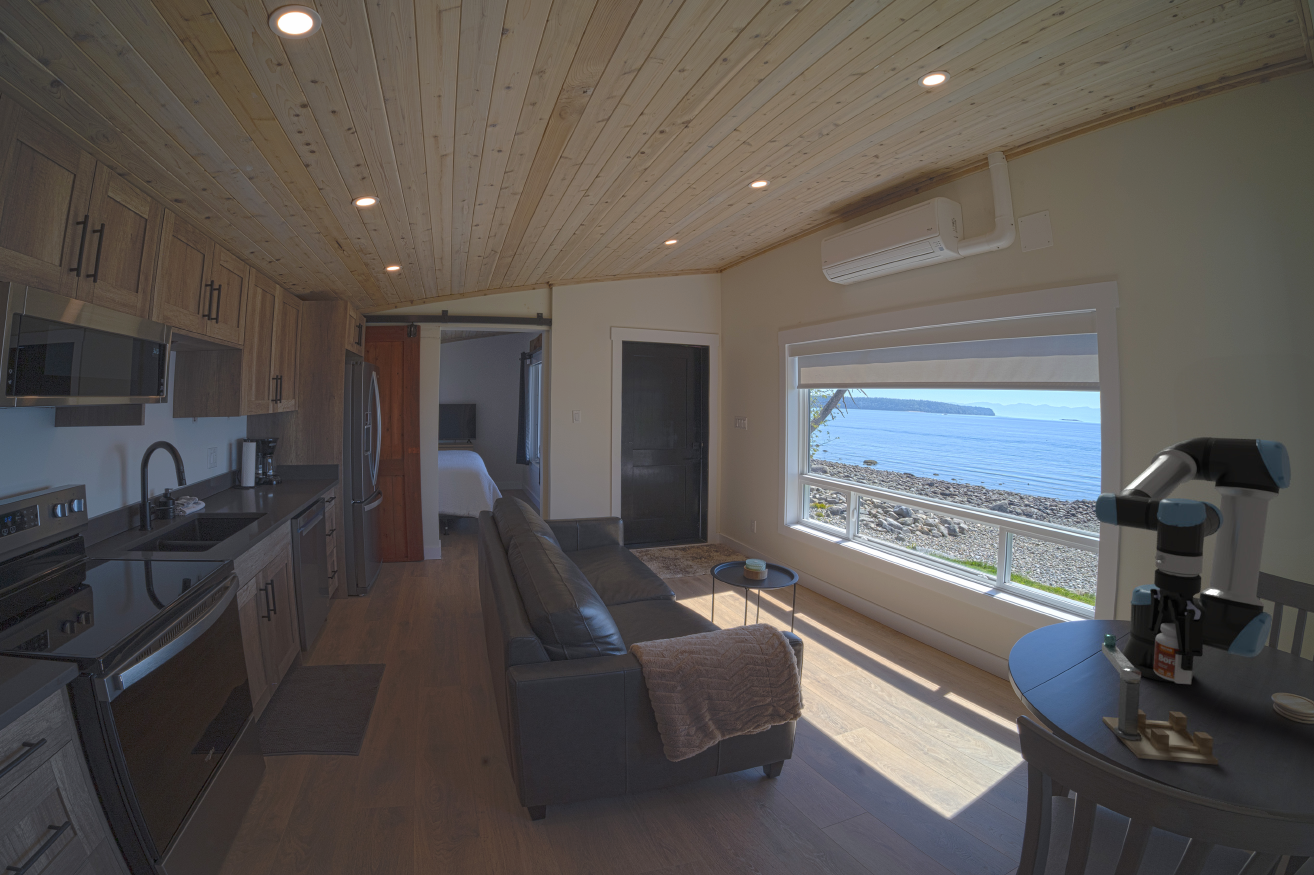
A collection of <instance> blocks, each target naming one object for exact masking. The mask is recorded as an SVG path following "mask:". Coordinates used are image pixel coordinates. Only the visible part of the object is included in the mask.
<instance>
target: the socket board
mask: <svg viewBox="0 0 1314 875" xmlns="http://www.w3.org/2000/svg"><path fill="white" fill-rule="evenodd" d="M1187 721H1188V717H1187V715H1185V714H1183V712H1181V711H1171V710H1169V712H1168V721H1165V720H1164V721H1163V720H1153V719H1152V720H1151V719H1147V714H1146V713H1145V712H1144V710H1142V709H1140V708H1139V711H1138V730H1137V732H1138V733H1140V735H1141V740H1140V741H1129V740H1125V739H1123V738H1121V737H1119V736H1117V738H1118V739H1119V740H1120V741H1121V742H1122V743H1123V744H1124V745H1125V746H1126V747H1127V748H1128V749H1129V750H1130V751H1131V752H1132V753H1133V754H1134V755H1135V756H1136V757H1137V758H1138V759H1144V760H1145V759H1146V760H1158V761H1169V762H1170V761H1171V762H1182V763H1193V764H1205V765H1219V759H1218V758H1216V757H1215V756H1214V755H1213V749H1214V748H1213V747H1214V738H1213V736H1211V735H1210V734H1208V733H1207V732H1204V731H1203V732H1202V731H1193V734H1191V733H1190V732H1188V730H1187V726H1188V725H1187V724H1188V723H1187ZM1102 722H1103V723H1104V724H1105V725H1106V726H1107V728H1109V729H1110V730H1111V731H1112V732H1113V733H1114V728H1115V727H1118V717H1112V716H1111V717H1110V716H1102Z"/></svg>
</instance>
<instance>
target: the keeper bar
mask: <svg viewBox="0 0 1314 875" xmlns="http://www.w3.org/2000/svg"><path fill="white" fill-rule="evenodd" d="M1103 637H1104V638H1103V642H1102V643H1101V652H1102V653H1103V654H1104V656H1105V657H1106V658H1107V660H1108V661H1109V662H1110V663H1111V665H1113V667H1114V668H1115V670H1116V671H1117V673H1118V674H1119V679H1120V678H1121V679H1122V680H1124V681H1126V682H1129V683H1139V684H1140V683H1141V680H1142V676H1141V671H1140V670H1139V669H1137V668H1134V666H1133V665H1132V664H1131V663H1130V662H1129V661H1128V659H1127V658H1126V657H1125V656H1124V655H1123V654H1122V652H1121V650H1120V649H1119V648H1118V647H1117V644H1116V642H1117V641H1116V640H1117V636H1116V635H1114V634H1111V633H1105V634H1104V636H1103Z"/></svg>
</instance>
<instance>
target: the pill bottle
mask: <svg viewBox="0 0 1314 875" xmlns="http://www.w3.org/2000/svg"><path fill="white" fill-rule="evenodd" d="M1160 630H1161V632H1162V633H1160V634H1158V635H1157V636H1156V639H1155V655H1154V672H1155V673H1156V674H1157V675H1158V676H1160V677H1162V678H1164V679H1167V680H1170V681H1174V674H1175V657H1176V653H1175V651H1179V648H1178V641H1177V634H1176V627H1175V624H1172V623H1162V624H1161V628H1160Z"/></svg>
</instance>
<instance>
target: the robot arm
mask: <svg viewBox="0 0 1314 875" xmlns="http://www.w3.org/2000/svg"><path fill="white" fill-rule="evenodd" d="M1291 474H1292V473H1291V461H1290V456H1289V452H1288V450H1287V447H1286V446H1285V445H1284V444H1283V443H1282V442H1279V441H1277V440H1267V439H1259V438H1252V439H1251V438H1234V437H1233V438H1232V437H1231V438H1230V437H1229V438H1228V437H1227V438H1226V437H1212V436H1211V437H1207V436H1206V437H1205V436H1203V437H1194V438H1189V439H1186V440H1185V439H1184V440H1183V441H1179V442H1176V443H1174V444H1170V445H1168V446H1166V447H1164V448H1162V449H1161V450H1160V451H1159V452H1157V453H1156V454H1155V455H1154V456H1153V457H1152V459H1151V462H1150V465H1149V466H1148V467H1147V468H1146V469H1145V470H1143V472H1142V473H1140V474H1139V475H1138V476H1137V477H1136V478H1135V479H1134V480H1133V481H1131V483H1129V484H1128V485H1126V487H1125V488H1123V489H1122V491H1120V492H1119V493H1115V492H1102V493H1101V494H1100V495H1099V496H1098V497H1097V499H1096V501H1095V509H1094V510H1095V511H1094V512H1095V516H1096V519H1097V520H1098V521H1100V522H1101V523H1104V524H1109V525H1114V526H1116V527H1117V526H1119V527H1126V528H1134V529H1138V530H1139V529H1140V530H1146V531H1151V532H1152V531H1153V532H1156V547H1155V548H1156V554H1155V556H1154V559H1155V567H1156V569H1155V570H1154V583H1152V584H1151V583H1149V584H1141V585H1137V586H1136V587H1135V588H1133V590H1132V594H1131V600H1130V623H1129V624H1130V630H1129V636H1128V637H1129V638H1127V639H1128V640H1127V642H1126V644H1125V645H1124V648H1123V649H1122V654H1123V655H1124V656H1125V657H1126V658H1127V659H1128V661H1129V662H1130V663H1131V664H1132V665H1133V666H1134V668H1137V669H1139V670H1140V671H1141V677H1144V678H1147V679H1151V680H1155V681H1160V682H1166V683H1173V684H1179V685H1180V684H1183V685H1192V680H1193V679H1194V678H1193V677H1194V670H1193V669H1194V667H1193V666H1194V657H1203V652H1204V651H1203V648H1204V647H1206V648H1211V649H1214V650H1218V651H1222V652H1225V653H1227V654H1229V655H1231V654H1232V655H1238V656H1241V657H1246V658H1253V657H1256V656H1258V655H1259V654H1261V652H1262V651H1263V650H1264V648H1265V646H1266V643H1267V640H1268V639H1269V635H1270V631H1271V628H1272V621H1273V616H1272V615H1271V614H1270V613H1268V612H1266V611H1264V607H1265V605H1264V603H1263V602H1262V601H1261V600H1260V599H1259V597H1257V592H1258V583H1259V577H1260V569H1261V561H1262V554H1263V547H1264V540H1265V539H1264V538H1265V533H1266V525H1267V518H1268V510H1269V503H1270V501H1271V500H1273V499H1274V498H1277V497H1278V496H1279V493H1280V489H1283V490H1284V489H1288V488H1289V487H1290V484H1291V480H1292V479H1291V476H1292V475H1291ZM1193 480H1194V481H1205V482H1206V481H1207V482H1213V483H1215V484H1214V489H1215V491H1217V492H1218V493H1219V494H1220V495H1221V499H1220V506H1219V507H1217V506H1216V505H1214V504H1213V503H1211V502H1207V501H1203V500H1202V501H1201V500H1199V501H1198V500H1196V499H1188V498H1181V497H1179V498H1176V497H1171V498H1170V497H1169V496H1170V495H1171V494H1172V493H1173V492H1174V491H1175V490H1176V489H1177V488H1178V487H1179V486H1180V485H1181V484H1186V483H1189V482H1190V481H1193ZM1168 497H1169V498H1168ZM1214 534H1216V536H1215V543H1214V548H1213V549H1214V550H1213V558H1212V563H1211V566H1212V567H1211V571H1210V572H1211V573H1210V578H1209V585H1208V587H1207V588H1205V589H1203V590H1202V576H1201V574H1202V573H1203V561H1204V560H1203V559H1204V554H1203V553H1204V541H1205V538H1206V537H1208V536H1212V535H1214ZM1198 594H1199V597H1195V595H1198ZM1162 623H1172V624H1175V627H1176V634H1177V641H1178V648H1179V651H1175V653H1176V657H1175V674H1174V681H1170V680H1167V679H1164V678H1162V677H1160V676H1158V675H1157V674H1156V673H1155V672H1154V655H1155V639H1156V636H1157V635H1158V634H1160V633H1162V632H1161V630H1160V628H1161V624H1162ZM1203 646H1204V647H1203Z"/></svg>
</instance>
